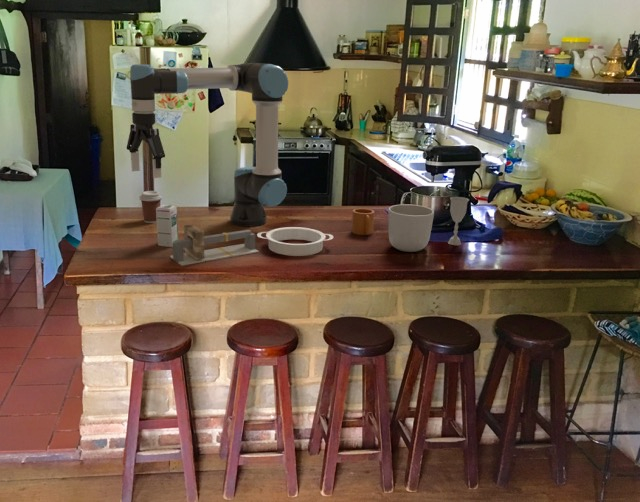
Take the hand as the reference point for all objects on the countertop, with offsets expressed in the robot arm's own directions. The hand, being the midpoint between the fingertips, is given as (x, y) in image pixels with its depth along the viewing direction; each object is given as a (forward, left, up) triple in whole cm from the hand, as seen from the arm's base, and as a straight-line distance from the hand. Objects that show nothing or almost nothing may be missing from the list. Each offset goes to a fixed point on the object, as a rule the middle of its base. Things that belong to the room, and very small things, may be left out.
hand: (146, 174), depth 224 cm
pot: (-48, +22, -28) cm, 60 cm away
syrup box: (-8, -3, -28) cm, 29 cm away
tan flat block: (-10, +16, -26) cm, 33 cm away
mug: (-82, +20, -28) cm, 89 cm away
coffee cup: (-14, -35, -28) cm, 47 cm away
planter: (-85, +44, -28) cm, 100 cm away
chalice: (-106, +48, -28) cm, 120 cm away
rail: (-18, +16, -28) cm, 37 cm away
